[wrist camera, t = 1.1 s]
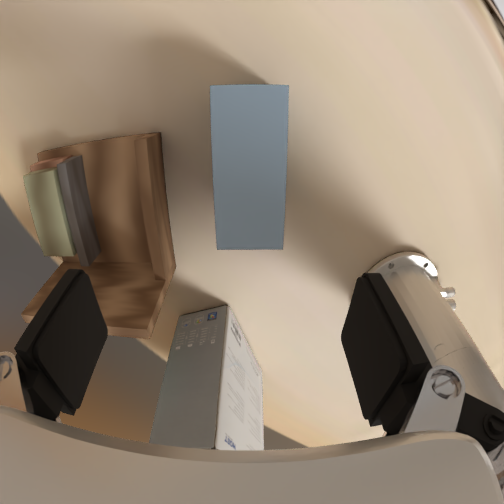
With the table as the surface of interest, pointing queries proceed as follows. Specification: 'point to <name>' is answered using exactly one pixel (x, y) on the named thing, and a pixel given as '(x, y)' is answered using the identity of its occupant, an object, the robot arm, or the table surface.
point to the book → (249, 164)
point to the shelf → (106, 226)
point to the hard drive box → (210, 387)
